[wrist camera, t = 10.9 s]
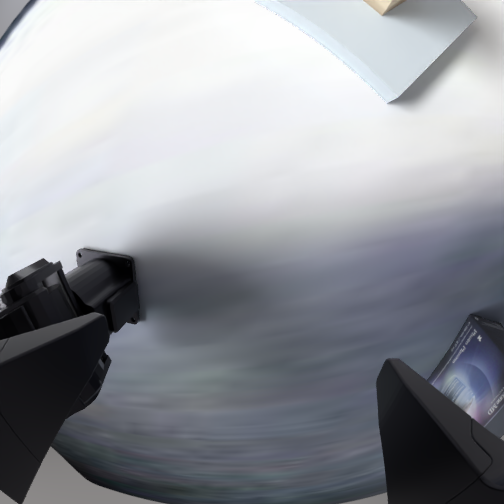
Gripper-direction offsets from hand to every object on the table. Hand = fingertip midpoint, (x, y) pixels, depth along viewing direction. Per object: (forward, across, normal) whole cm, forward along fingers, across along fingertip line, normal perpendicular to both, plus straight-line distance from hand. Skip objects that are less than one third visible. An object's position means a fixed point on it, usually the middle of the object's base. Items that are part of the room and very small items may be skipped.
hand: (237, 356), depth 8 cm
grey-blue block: (+14, -6, -21) cm, 26 cm away
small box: (+14, -22, +10) cm, 28 cm away
